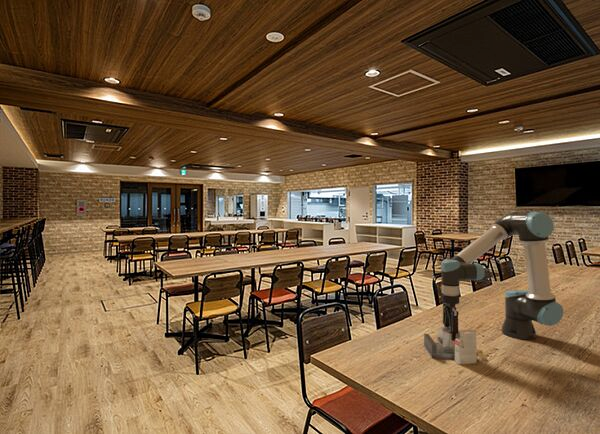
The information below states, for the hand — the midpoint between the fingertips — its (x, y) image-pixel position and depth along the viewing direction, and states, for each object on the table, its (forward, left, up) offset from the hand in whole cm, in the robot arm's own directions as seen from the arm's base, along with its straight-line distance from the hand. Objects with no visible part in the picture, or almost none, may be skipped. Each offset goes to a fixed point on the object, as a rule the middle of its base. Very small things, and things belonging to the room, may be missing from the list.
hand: (450, 343), depth 153 cm
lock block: (0, 0, 0) cm, 0 cm away
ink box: (-3, +10, -4) cm, 11 cm away
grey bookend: (+1, 0, -4) cm, 4 cm away
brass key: (-12, +3, -4) cm, 13 cm away
